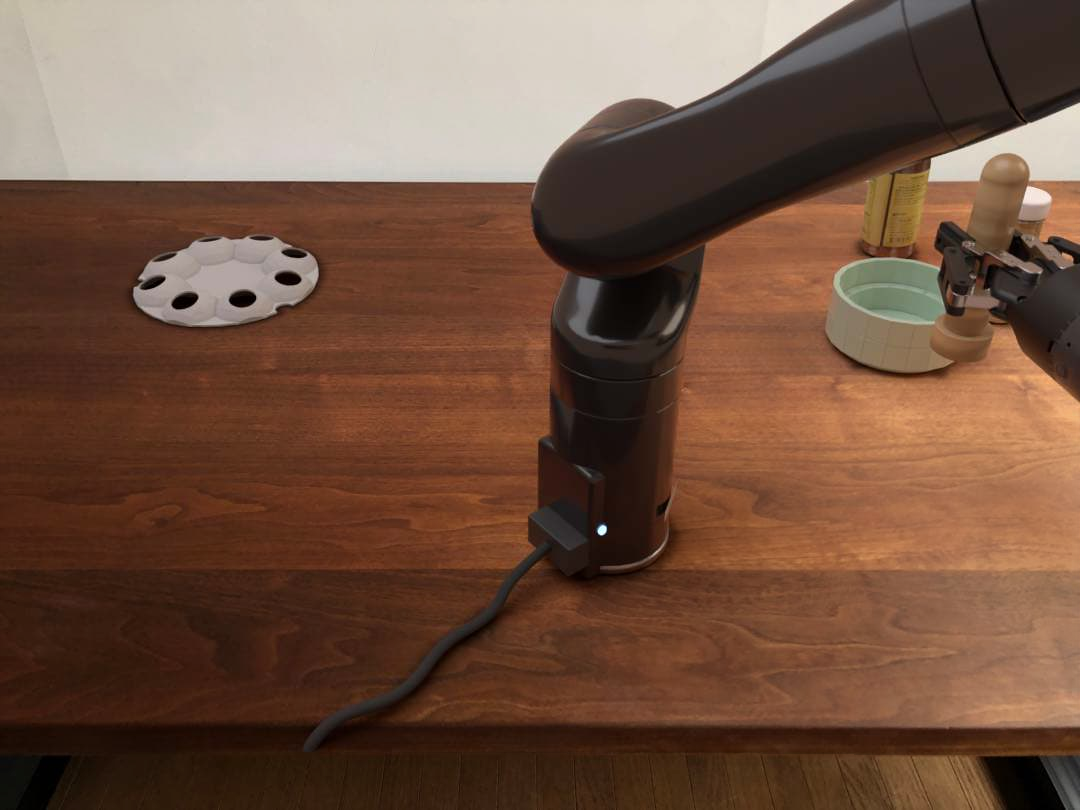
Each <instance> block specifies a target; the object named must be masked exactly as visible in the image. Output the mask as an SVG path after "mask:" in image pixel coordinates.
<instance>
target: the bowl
mask: <svg viewBox="0 0 1080 810" xmlns="http://www.w3.org/2000/svg"><path fill="white" fill-rule="evenodd" d="M940 268H941V266H937V265H934V264H930V263H926V262H923V261H919V260H915V259H908V258H903V259H902V258H877V257H870V258H865V259H860V260H859V259H858V260H855V261H852V262H850V263H847V264H845V265H843V266H842V267H841V268H840V269H839V270H838V271H837V272H836V273H835V274H834V276H833V282H832V288H831V292H830V296H829V303H828V307H827V313H826V319H825V325H824V331H825V333H826V335H827V338H828V339H829V341H830V343H831V344H832V345H833V346H834V347H836V348H837V349H838V350H839V351H840V352H841V353H843V354H845V356H847V357H848V358H850V359H852V360H854V361H855V362H857V363H859V364H862V365H864V366H866V367H868V368H872V369H875V370H879V371H884V372H890V373H895V374H896V373H897V374H919V373H920V374H921V373H924V372H925V373H926V372H930V371H934V370H937V369H942V368H946V367H947V366H949V365H951V364H952V363H954V362H955V361H952V360H949V359H946V358H944V357H942V356H940V355H938V354H937V353H935V352H934V351H933V350H932V348H931V346H930V339H931V335H932V331H933V327H934V323H935V320H936V318H937V317H938V316H940V315H942V314H945V313H946V310H945V307H944V303H943V299H942V295H941V292H940V288H939V284H938V281H937V277H938V273H939V272H940Z"/></svg>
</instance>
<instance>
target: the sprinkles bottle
mask: <svg viewBox="0 0 1080 810" xmlns="http://www.w3.org/2000/svg"><path fill="white" fill-rule="evenodd" d="M1052 202H1053V197H1052V196H1051V194H1049V192H1047V191H1045V190H1043V189H1040V188H1037V187H1033V186H1029V185H1027V189H1026V192H1025V196H1024V199H1023V203H1022V206H1021V210H1020V213H1019V217H1018V220H1017V224H1016V227H1015V229H1016V230H1018V231H1019V232H1021V233H1022V234H1023V235H1026V234H1028V235H1033V236H1036V237H1037V238H1039V239H1040V236H1041V232H1042V229H1043V225H1044V222H1045V221H1046V219H1047V217H1048V216H1049V213H1050V210H1051V206H1052ZM989 323H995V324H1007V323H1006V322H1004V321H1002V320H1000V319H997V318H995V317H993V316H992V315H990V319H989Z"/></svg>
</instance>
